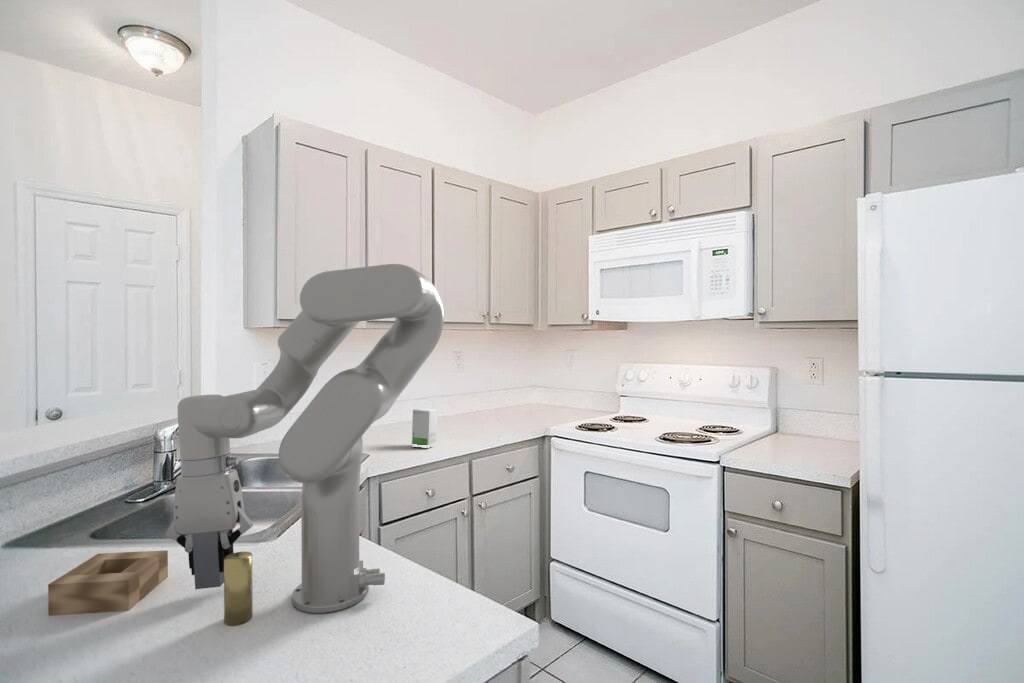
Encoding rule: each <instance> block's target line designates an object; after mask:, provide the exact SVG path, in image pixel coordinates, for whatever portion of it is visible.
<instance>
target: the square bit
mask: <svg viewBox="0 0 1024 683" xmlns="http://www.w3.org/2000/svg"><path fill="white" fill-rule="evenodd" d="M192 542H193V560H194V575H193V576H194V577H193V578H194V589H195V590H203V589H211V588H221V586H223V585H224V572H221V569H220V550H221V549H222V543H221V540H220V536H219V532H217V531H212V532H202V533H192Z"/></svg>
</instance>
